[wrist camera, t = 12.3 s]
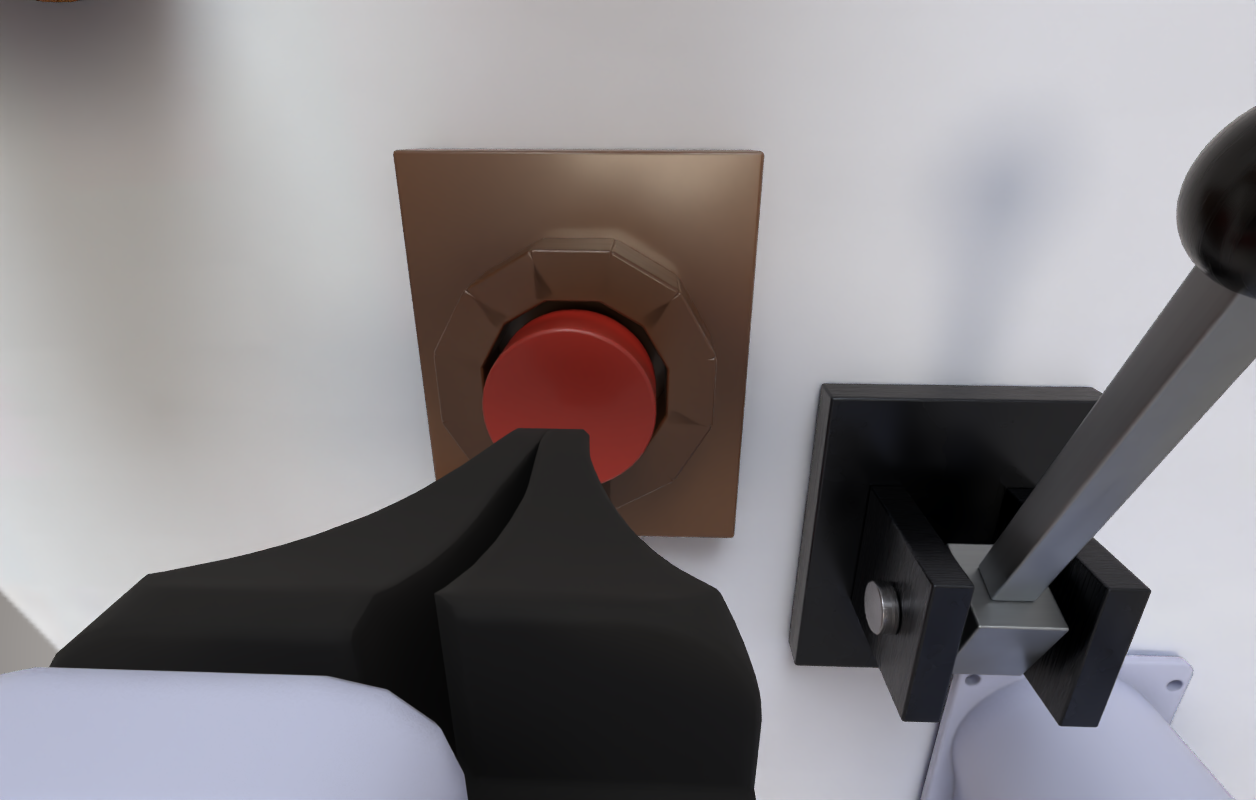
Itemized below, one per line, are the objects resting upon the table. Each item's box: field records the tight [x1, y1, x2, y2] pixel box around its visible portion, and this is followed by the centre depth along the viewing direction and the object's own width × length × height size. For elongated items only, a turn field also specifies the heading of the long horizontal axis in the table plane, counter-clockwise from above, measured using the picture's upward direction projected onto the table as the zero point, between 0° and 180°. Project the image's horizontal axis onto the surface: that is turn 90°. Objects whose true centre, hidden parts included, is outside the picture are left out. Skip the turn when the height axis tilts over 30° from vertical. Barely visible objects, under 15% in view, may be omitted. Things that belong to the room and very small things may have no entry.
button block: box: [393, 149, 764, 538], centre depth 17 cm, size 11×9×4 cm
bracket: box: [789, 384, 1151, 728], centre depth 18 cm, size 10×8×6 cm
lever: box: [946, 106, 1256, 676], centre depth 13 cm, size 15×3×3 cm, turn 0°
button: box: [482, 309, 656, 483], centre depth 15 cm, size 4×4×2 cm
